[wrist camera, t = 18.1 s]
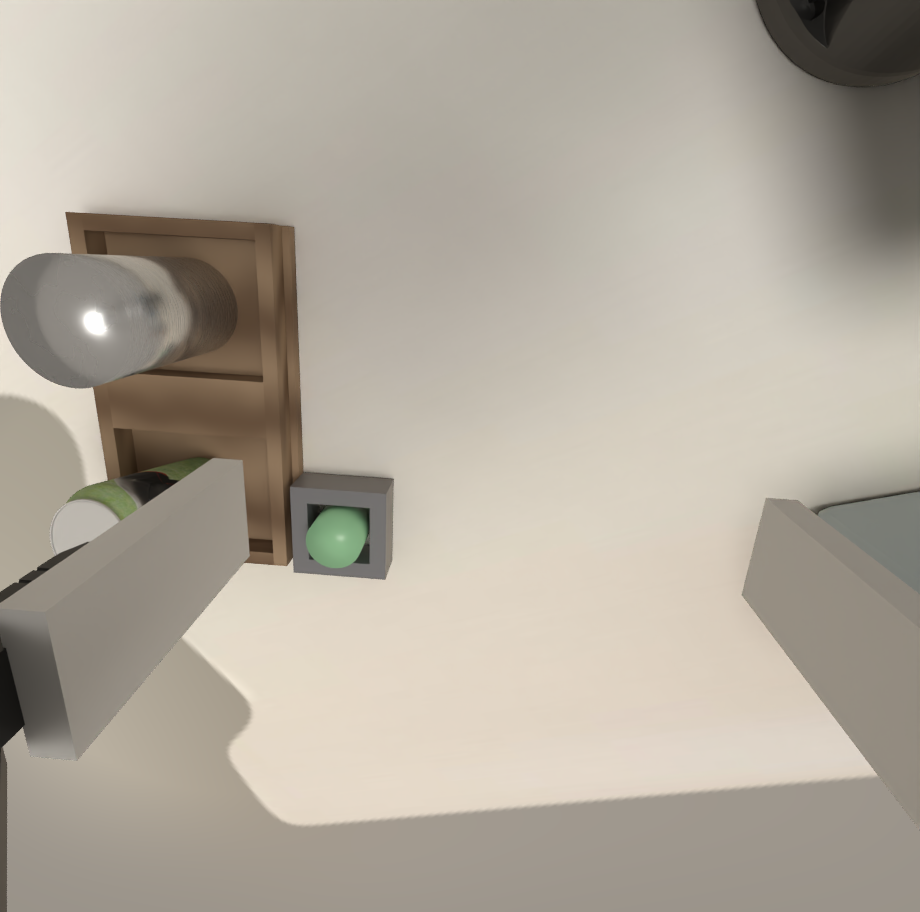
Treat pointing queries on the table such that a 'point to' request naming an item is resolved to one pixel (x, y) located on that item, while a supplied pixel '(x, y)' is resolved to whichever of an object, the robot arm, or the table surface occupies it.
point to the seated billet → (113, 314)
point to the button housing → (352, 494)
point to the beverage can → (112, 503)
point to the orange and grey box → (884, 532)
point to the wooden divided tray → (215, 369)
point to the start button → (338, 535)
